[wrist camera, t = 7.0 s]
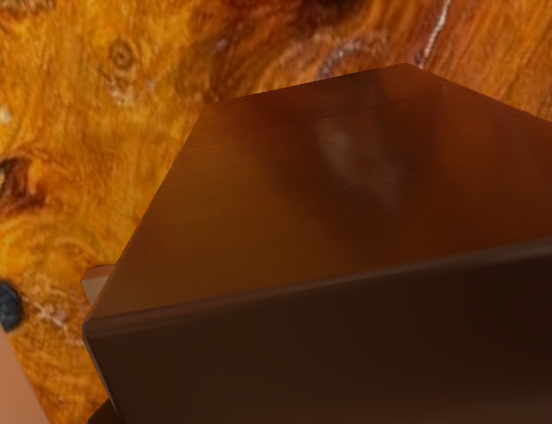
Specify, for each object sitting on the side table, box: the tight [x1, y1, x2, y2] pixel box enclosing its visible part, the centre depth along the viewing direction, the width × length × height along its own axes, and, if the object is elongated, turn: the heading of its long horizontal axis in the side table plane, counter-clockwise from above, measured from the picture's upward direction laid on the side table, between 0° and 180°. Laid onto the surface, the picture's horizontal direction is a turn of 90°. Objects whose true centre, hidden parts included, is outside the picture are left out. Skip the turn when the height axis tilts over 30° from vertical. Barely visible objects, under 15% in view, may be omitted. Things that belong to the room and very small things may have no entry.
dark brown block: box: [82, 63, 552, 424], centre depth 7 cm, size 4×7×7 cm, turn 11°
